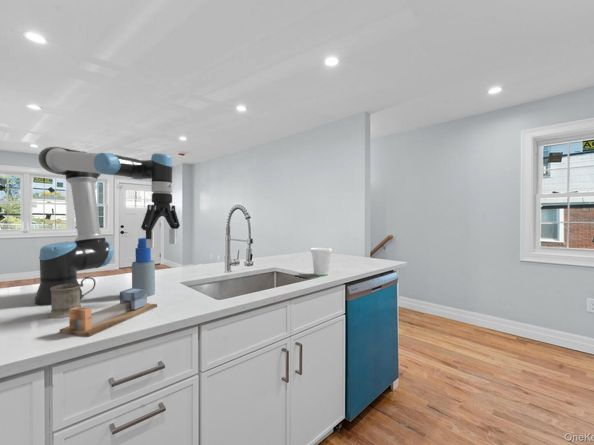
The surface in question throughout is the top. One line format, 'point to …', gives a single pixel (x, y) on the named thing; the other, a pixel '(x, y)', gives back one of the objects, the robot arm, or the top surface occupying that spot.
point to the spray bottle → (143, 269)
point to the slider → (133, 297)
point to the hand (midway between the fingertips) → (162, 245)
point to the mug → (66, 298)
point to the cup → (321, 260)
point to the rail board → (109, 322)
